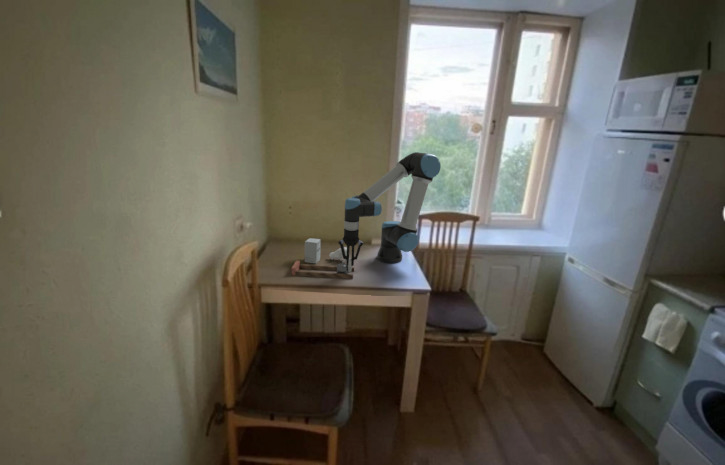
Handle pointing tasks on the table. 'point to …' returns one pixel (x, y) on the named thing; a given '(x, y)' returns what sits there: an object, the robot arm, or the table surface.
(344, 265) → the cylinder
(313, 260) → the supplement box
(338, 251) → the white figurine
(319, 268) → the guide rails
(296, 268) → the stop block
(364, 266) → the table surface
